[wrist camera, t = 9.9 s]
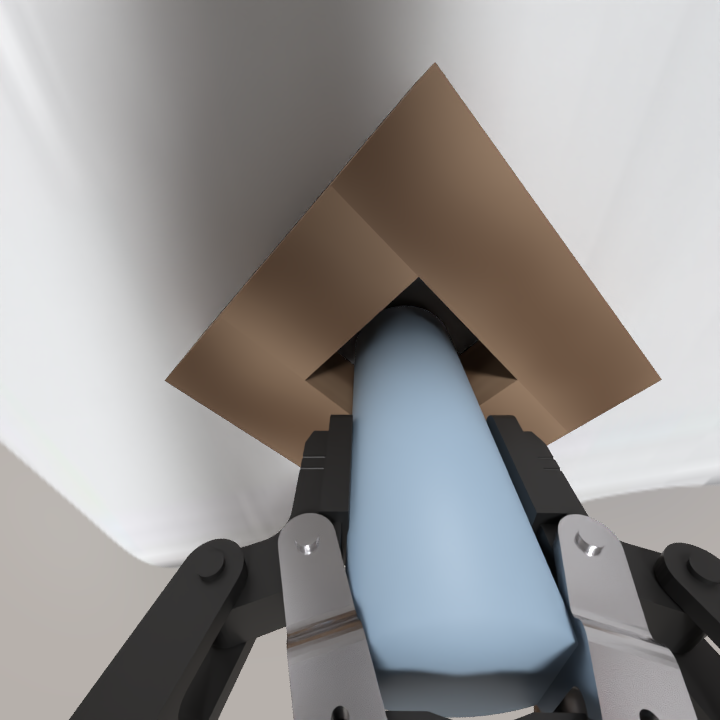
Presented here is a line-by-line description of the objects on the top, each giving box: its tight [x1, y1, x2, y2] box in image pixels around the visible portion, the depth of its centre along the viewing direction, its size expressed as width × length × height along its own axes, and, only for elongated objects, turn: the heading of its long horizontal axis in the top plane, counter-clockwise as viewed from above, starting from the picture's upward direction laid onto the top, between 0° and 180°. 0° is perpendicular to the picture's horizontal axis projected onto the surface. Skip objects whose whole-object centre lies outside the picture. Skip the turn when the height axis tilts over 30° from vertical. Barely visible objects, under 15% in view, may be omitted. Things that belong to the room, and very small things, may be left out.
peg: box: [345, 306, 578, 717], centre depth 12 cm, size 4×4×12 cm
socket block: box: [165, 63, 662, 467], centre depth 16 cm, size 14×14×4 cm
